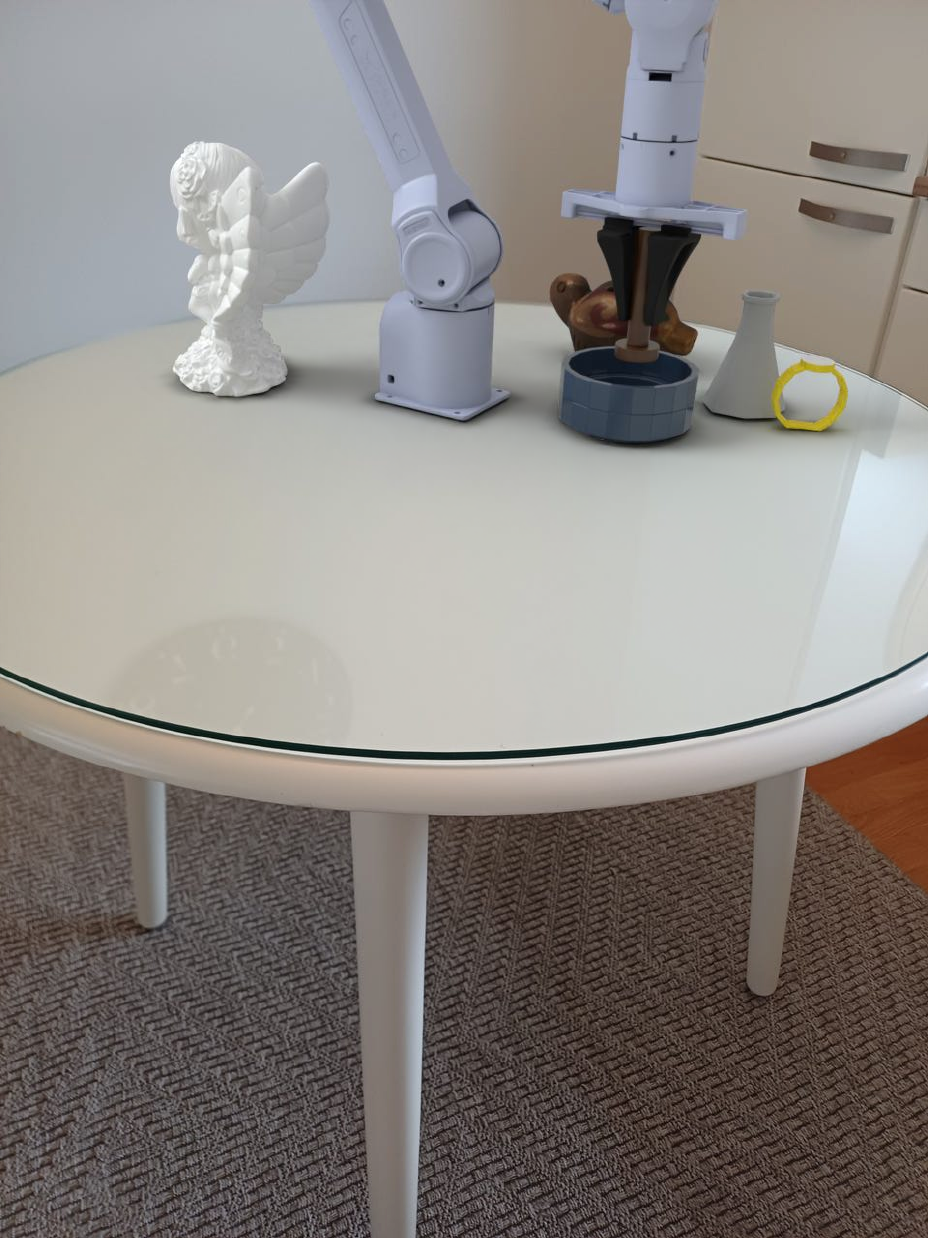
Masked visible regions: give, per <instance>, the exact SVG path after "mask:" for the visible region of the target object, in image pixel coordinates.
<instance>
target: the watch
mask: <svg viewBox="0 0 928 1238" xmlns="http://www.w3.org/2000/svg"><path fill="white" fill-rule="evenodd" d="M835 367H836V361H835V360H833V359H832V358H830V357H826V356H822V355H814V354H808V355H807V354H806V355H803V356H801V358H800V361H799V362H797V363H795V364H792V365H790V366H789V367H787V368H786V369H785V370H784V371H783V372H782V374H781V375H779V378H778V379H777V381H776V383H775V386H774V389H773V392H772V397H771V400H772V406H773V411H774V413H775V415H776V416H777V417H776V419H778V421H779V422H781V425H783V427H784V428H787V429H794V430H795V429H796V430H806V431H816V432H821V431H823V430H825V429H827V428H828V427H830V426H832V425H833V424H834V423H836V422H837V421H838V419H839V418H840V416H841V415H842V414H843V412H844V411H845V409H846V406H847V402H848V397H849V389H848V386H847V383H846V380H845V377H844V376H843V374H842V373H841V372H840V371H839V370H837V368H835ZM805 371H808V372H811V373H818V374H830V373H831V374H832V375H833V376H834V377H835V378H836V381H837V385H838V387H839V391H838V396H837V401H836V403H835V404H834V406H833V407H832V408H831V410H830V411H829V413H828V414H827V415H825V416H824V417H822V418H820V419H818V420H817V421H814V422H812V421H811V422H809V421H804V420H803V421H802V420H794V419H786V418H785V417H784V415H783V414H782V412H780V406H779V399H780V396H781V393H782V392H783V389H784V387H785V386H786V385H787V384H788V383H789V382H790V381H791V380H792V378H794V377H795V376H796V375H798V374H800V373H803V372H805Z"/></svg>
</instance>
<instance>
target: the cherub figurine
mask: <svg viewBox="0 0 928 1238" xmlns="http://www.w3.org/2000/svg"><path fill="white" fill-rule="evenodd" d="M169 187H170V188H169V189H170V193H171V198H172V201H173V205H174V207H175V208H176V209H177V212H178V213H177V214H178V217H177V222H176V236H177V238H178V240H179V242H181V243H182V244H183V245H185V246H187V247H191V248H194V249H198V250H199V251H200V252H201V254H198V255H196V257H195V258H194V261H193V264H192V265H191V267H190V268H189V270H188V273H187V281H188V283H189V284H191V285H193V287H192V291H191V293H190V299H189V300H188V306H187V307H188V311H189V312H190V313H192V314H193V315H194V316H196V317H197V318H199V319H201V320H202V321H203V322H204V323H205V324H206V325H204V326H203V328H202V329H201V332H200V333H201V335H199V337H198V338H197V340H196V341H193V342H192V343H191V345H190V346H189V347H188V348H187V351H186V352H184V354H183V353H181V354H180V355H178V356H177V357H176V359H175V360H174V364H173V366H172V372H173V373H174V374H176V375H177V376H178V377H179V380H180V382H181V384H183V385H184V386H185V387H187V388H189V390H190V391H194V392H198V393H203V392H204V393H207V392H208V393H212V394H213V395H215V396H217V397H236V398H239V397H244V396H249V395H254V394H261V393H265V392H267V391H269V390H270V389H271V388H273V387H275V386H278V385H281V384H283V383H284V382H285V381H286V379H287V377H286V376H287V375H288V367H287V364H286V361H285V354H284V353H283V352H282V349H281V346H280V345H279V344H275V343H274V339H273V338H272V337H271V336H272V335H271V333H270V332H268V331H266V329H264V326H263V324H264V323H263V321H262V317H263V313H264V312H263V311H264V305H267V304H268V305H277V304H281V303H283V302H284V300H285V299H286V298H287V297H288V296H291V295H293V294H295V293H296V292H298V291H299V290H300V289H301V288H302V287H303V286H304V283H305V282H306V281H308V280H309V279H311V278H312V277H313V276H314V275H315V273H316V272H317V270H318V266H319V263H320V262H321V260H322V258H323V257H324V256H325V253H326V248H327V241H326V235H327V232H328V230H329V226H330V216H331V215H330V209H329V206H328V203H327V202H326V196H327V192H328V189H329V175H328V172H327V169H325V167H324V166H323V164H322V163H321V162H319V161H314V162H311V163H309V164H308V165H306V166H305V167H304V168H303V169H302V170H300V171H299V172H297V174H296V175H295V176H294V177H293V178H292V179H291V180H290V181H289V182H288V183H287V184H285V185H284V187H282V188H281V189H279V190H278V191H277V192H275V193H273V194H269V193H268V192H267V184H266V179H265V176H264V174H263V171H262V170H261V168H260V166H259V165H258V164H257V163H256V162H255V161H254V160H253V159H252V158H251V157H250V156H249V155H248V154H246V153H244V152H243V151H241V150H240V149H238V148H235V147H233V146H230V145H228V144H226V143H222V142H205V140H200V141H198V140H197V141H194V142H192V143H190V144H188V145H187V146H186V147H185V148H184V149H183V153H181V154H180V157H179V158H178V159H177V160H176V161H175V162H174V164H173V165H172V167H171V171H170V175H169Z"/></svg>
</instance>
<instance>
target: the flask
mask: <svg viewBox="0 0 928 1238" xmlns="http://www.w3.org/2000/svg"><path fill="white" fill-rule="evenodd" d="M781 298H782V295H781V294H779V293H778V292H777V291H772V290H766V289H745V290H744V291H743V292H742V293H741V300H742V301H743V307H742V313H741V318H740V322H739V323H738V327H737V330H736V333H735V336H734V338H733V340H732V342H731V344H730V347H729V348H728V350H727V352H726V355H725V356H724V359H723V360H722V362H721V365H720V366H719V368H718V370H717V372H716V374H715V375H714V378H713V379H712V381H711V383H710V385H709V387H708V388H707V390H706V392H705V394H704V396H703V398H702V400H701V401H702V402H703V404H704V405H705V406H706V407H707V408H708V409H709V411H711V413H714V414H715V413H716V414H721V415H726V416H731V417H735V418H740V419H777V416H776V415H775V413H774V411H773V406H772V400H771V397H772V392H773V389H774V386H775V383H776V381H777V379H778V378H779V377H780V373H779V372H780V371H779V367H778V366H779V365H778V359H777V353H776V347H775V341H774V339H775V338H774V337H775V336H774V333H775V332H774V328H775V327H774V318H775V312H776V306H777V304H778V303H780V300H781ZM779 406H780V412H781V413H783V411H785V409H786V404H785V398H784V393H783V391H782V393H781V396H780V399H779Z"/></svg>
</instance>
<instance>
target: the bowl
mask: <svg viewBox="0 0 928 1238" xmlns="http://www.w3.org/2000/svg"><path fill="white" fill-rule="evenodd" d="M614 352H615V346H608V347H607V346H606V347H596V348H588V349H584V350H580V351H576V352H575V351H573V352H571V353H569V354H567V355H565V356H564V358H563V360H562V361H561V365H560V366H561V367H560V379H559V393H558V406H557V407H558V408H557V414H558V416H559V419H560V421H561V422H562V423H564V424H565V425H567V426H568V427H569V428H571V429H573V430H575V431H578V432H579V433H581V434H583V435H586V436H588V437H591V438H594V439H598V440H602V441H607V442H612V443H620V444H647V443H655V442H660V441H664V440H667V439H670V438H671V439H672V438H673V437H676V436H680V435H682V434H684V433H685V432H687V431H688V430H689V429H690V428H691V427H692V424H693V419H694V417H693V416H694V411H695V402H696V396H697V388H698V382H699V374H700V369H699V368H698V367H697V365H696V364H695V363H694V362H693V361H690V360H688V359H687V358H685V357H684V356H679V355H674V354H671V353H668V352H663V351H659V357H658V359H657V360H656V361H653V362H647V363H634V362H627V361H623V360H620V359H618V358H616V357H615V355H614Z"/></svg>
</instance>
